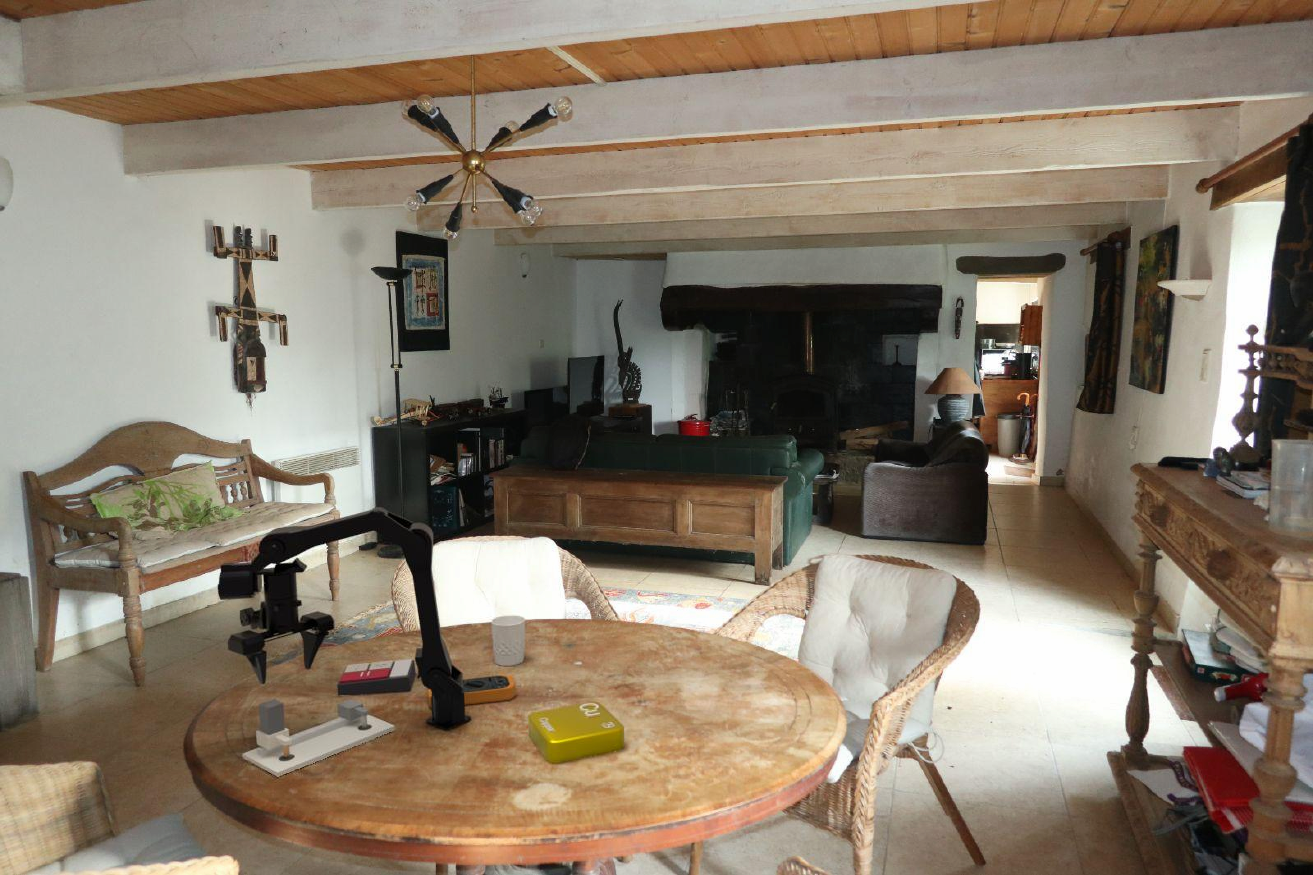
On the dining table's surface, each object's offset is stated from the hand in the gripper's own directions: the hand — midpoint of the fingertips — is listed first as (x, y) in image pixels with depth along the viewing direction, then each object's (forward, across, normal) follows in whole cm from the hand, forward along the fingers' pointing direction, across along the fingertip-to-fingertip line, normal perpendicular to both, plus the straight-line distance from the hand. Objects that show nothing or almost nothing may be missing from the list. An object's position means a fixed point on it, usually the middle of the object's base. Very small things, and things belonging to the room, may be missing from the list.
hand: (285, 676), depth 169 cm
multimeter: (+13, -33, +14) cm, 38 cm away
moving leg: (+10, +6, +7) cm, 14 cm away
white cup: (+12, -54, +5) cm, 55 cm away
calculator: (+13, -26, -8) cm, 31 cm away
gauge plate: (+12, -2, +8) cm, 15 cm away
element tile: (+13, -30, +46) cm, 57 cm away
